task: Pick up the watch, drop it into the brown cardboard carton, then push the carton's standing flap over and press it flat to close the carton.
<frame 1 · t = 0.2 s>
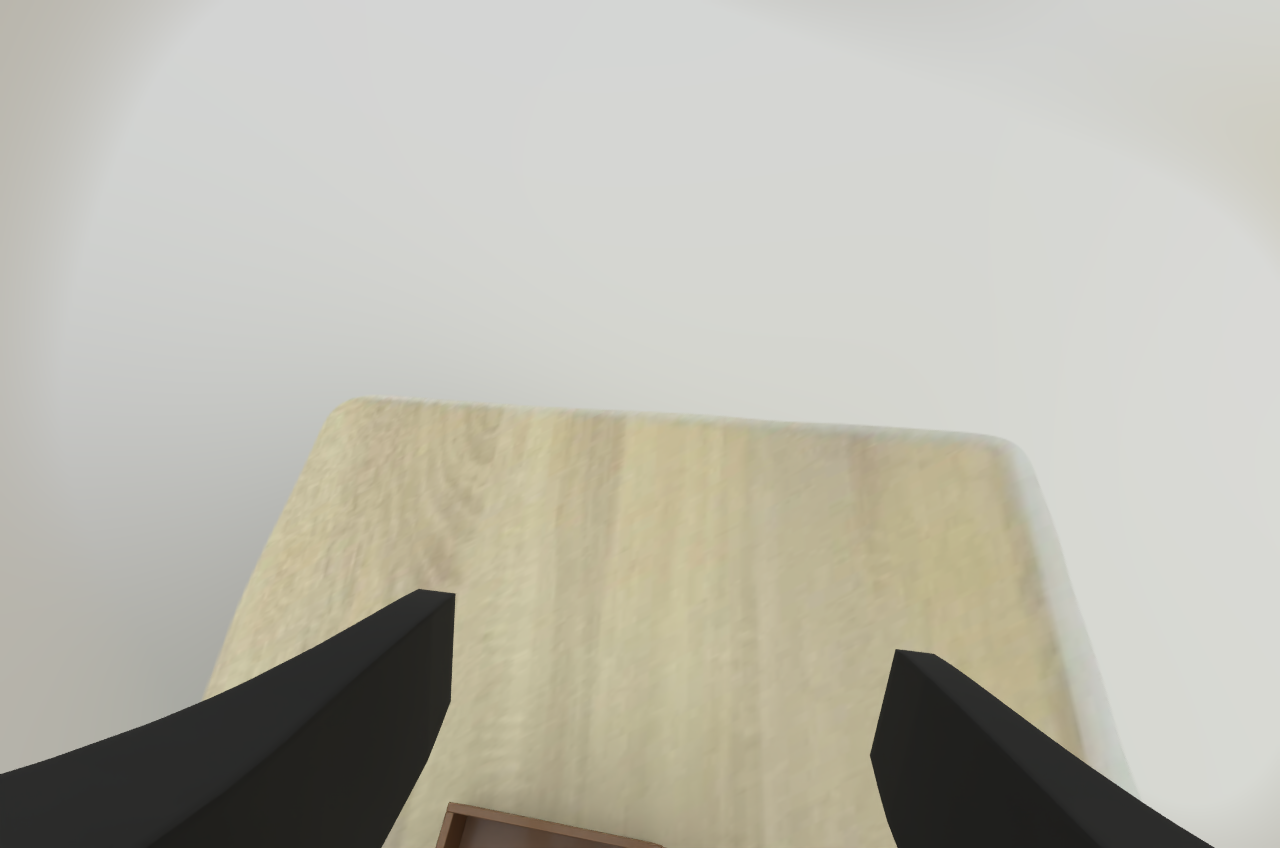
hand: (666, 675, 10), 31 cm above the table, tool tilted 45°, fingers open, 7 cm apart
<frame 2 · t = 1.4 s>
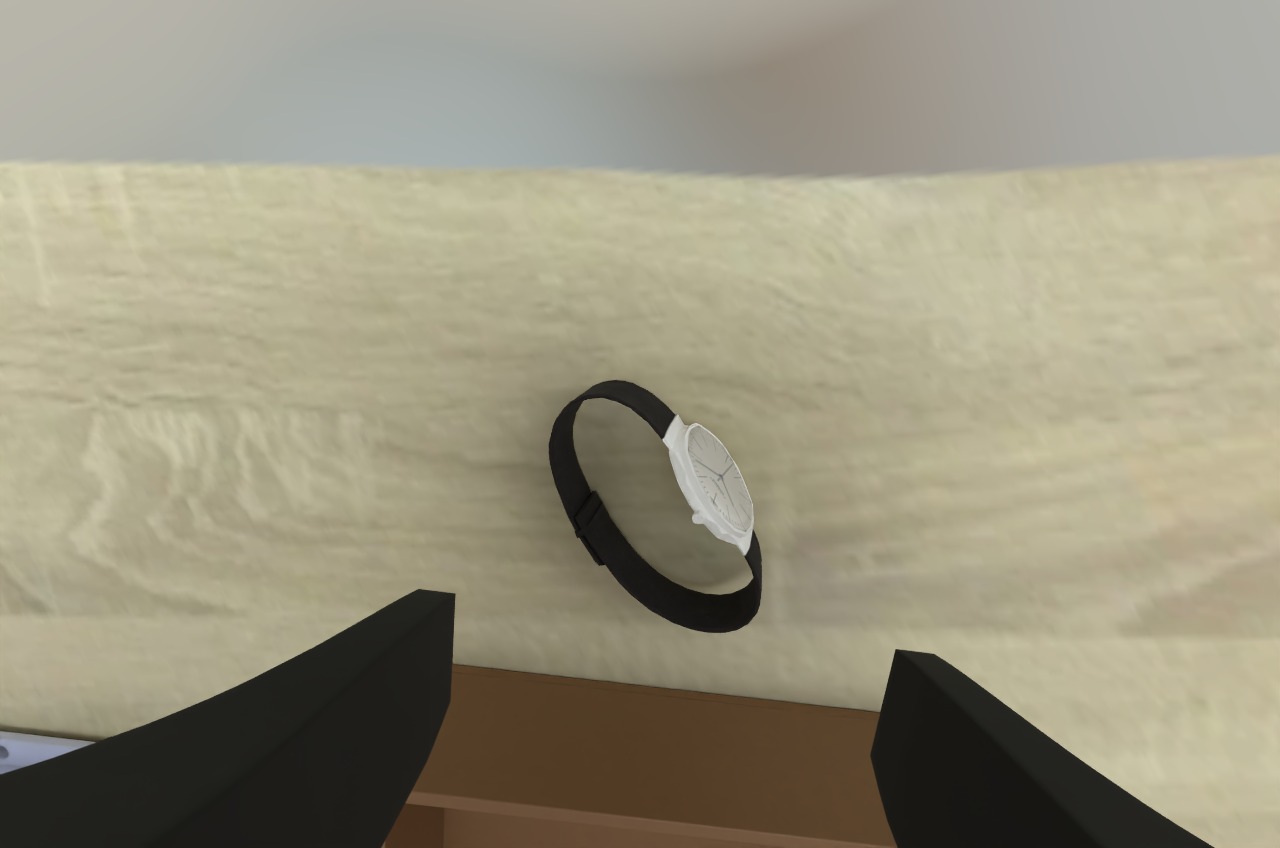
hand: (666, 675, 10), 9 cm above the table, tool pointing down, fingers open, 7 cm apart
carton: (651, 824, 21), on the table
watch: (660, 489, 19), on the table
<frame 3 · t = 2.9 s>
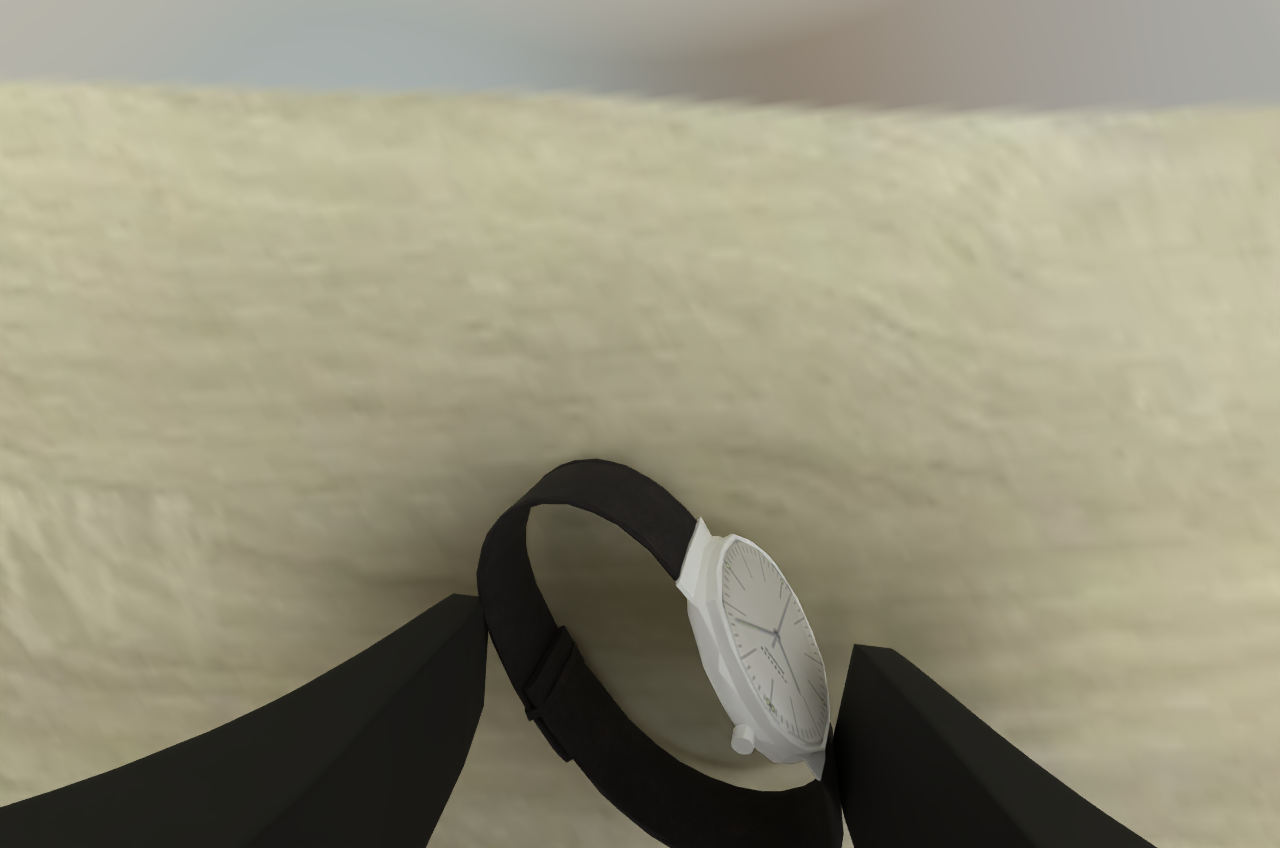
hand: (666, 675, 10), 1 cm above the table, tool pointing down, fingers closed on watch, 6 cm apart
watch: (668, 621, 12), on the table, touching gripper
when the fingers open (2 cm above the table, at t = 7.8 s): watch stays where it is, resting on carton.
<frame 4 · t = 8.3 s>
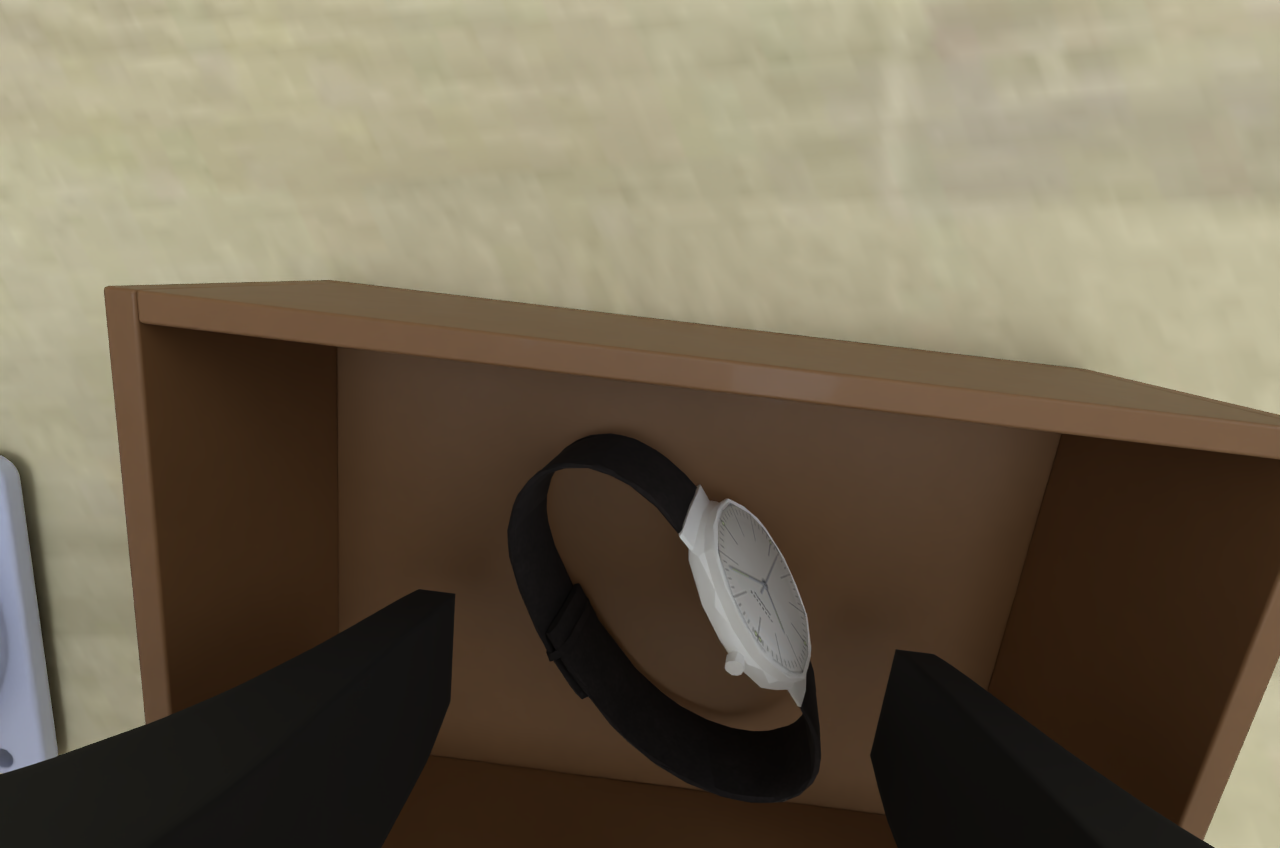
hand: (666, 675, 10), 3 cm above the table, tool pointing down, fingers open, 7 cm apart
carton: (668, 575, 13), on the table
watch: (670, 580, 13), resting on carton
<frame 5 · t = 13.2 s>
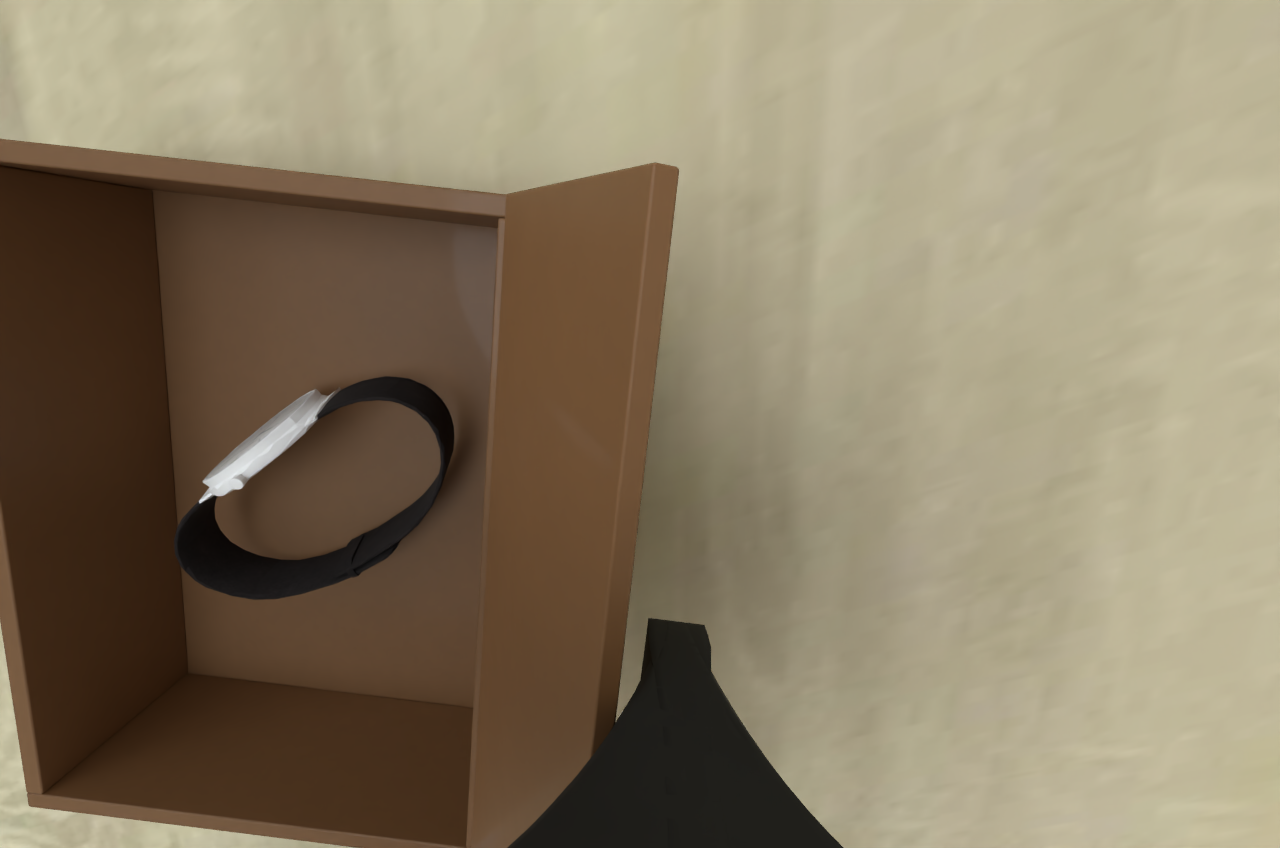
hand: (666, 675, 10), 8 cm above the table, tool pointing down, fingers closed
flap: (532, 672, 10), point 8 cm above the table, hinge at 119.0°, touching gripper
carton: (356, 470, 18), on the table
watch: (353, 471, 17), resting on carton
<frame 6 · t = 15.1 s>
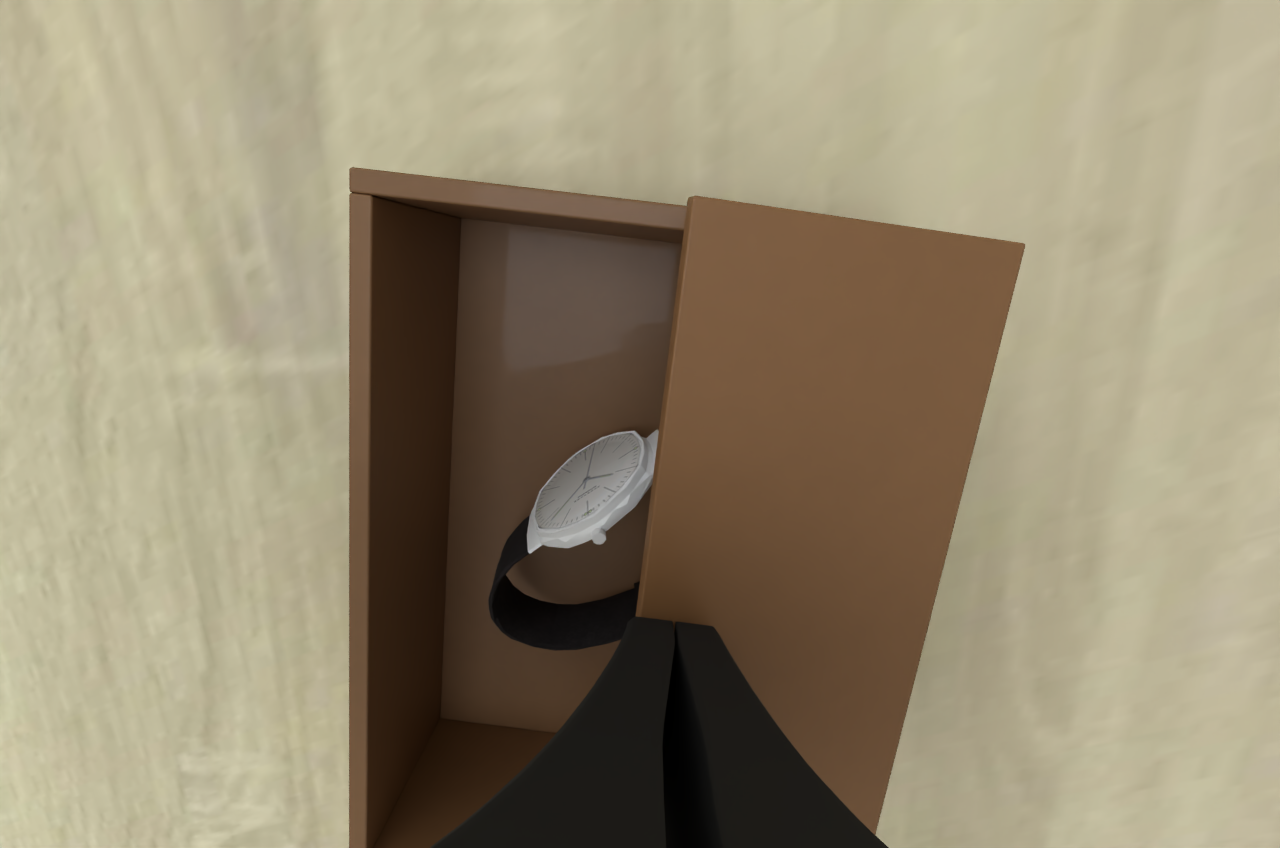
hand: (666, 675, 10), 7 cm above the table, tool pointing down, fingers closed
flap: (779, 664, 11), point 6 cm above the table, hinge at 13.2°, touching gripper
carton: (637, 511, 17), on the table
watch: (637, 512, 17), resting on carton
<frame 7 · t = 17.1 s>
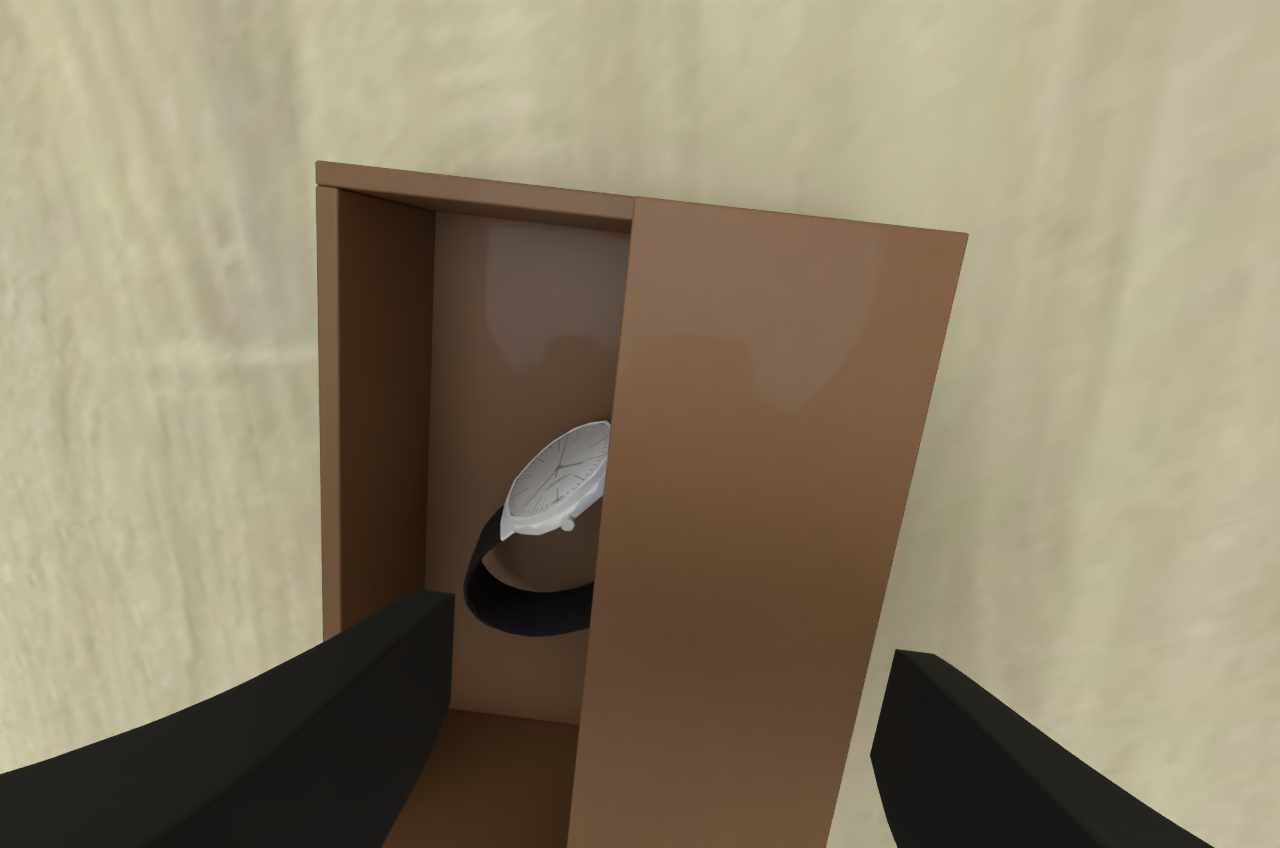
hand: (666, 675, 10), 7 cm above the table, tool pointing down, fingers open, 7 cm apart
flap: (730, 623, 12), point 5 cm above the table, hinge at -1.5°
carton: (613, 500, 17), on the table
watch: (612, 501, 17), resting on carton
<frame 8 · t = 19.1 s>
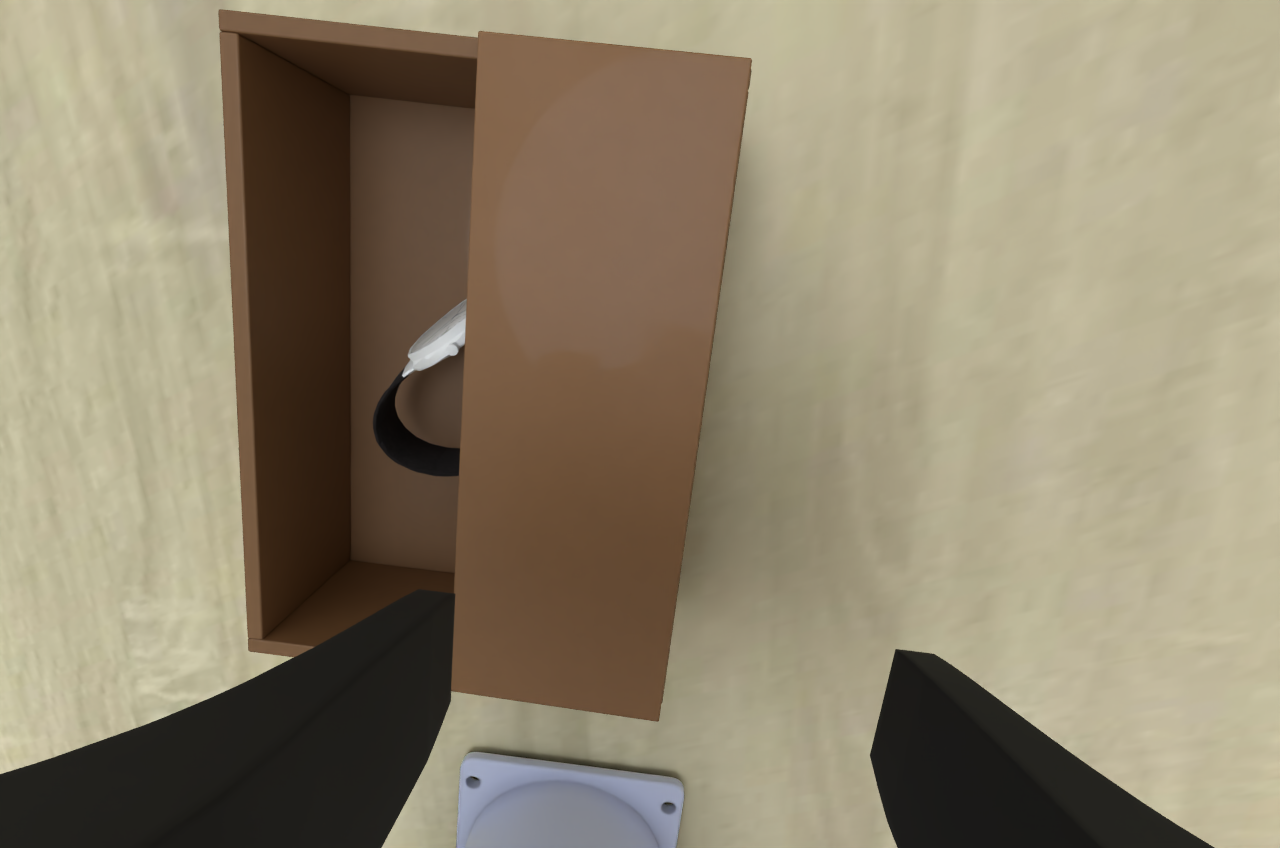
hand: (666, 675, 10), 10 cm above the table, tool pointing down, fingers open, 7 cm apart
flap: (580, 417, 14), point 5 cm above the table, hinge at -1.5°
carton: (518, 366, 19), on the table
watch: (516, 365, 19), resting on carton
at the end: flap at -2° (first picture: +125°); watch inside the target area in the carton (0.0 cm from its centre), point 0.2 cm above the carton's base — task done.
